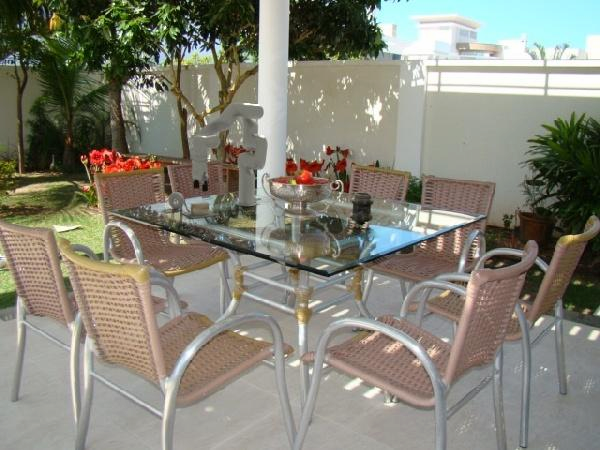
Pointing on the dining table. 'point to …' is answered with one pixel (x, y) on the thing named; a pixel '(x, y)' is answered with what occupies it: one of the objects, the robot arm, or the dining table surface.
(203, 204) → the tan rectangular block
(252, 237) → the dining table surface
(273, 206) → the dining table surface
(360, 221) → the apothecary jar
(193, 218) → the mat
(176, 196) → the donut
